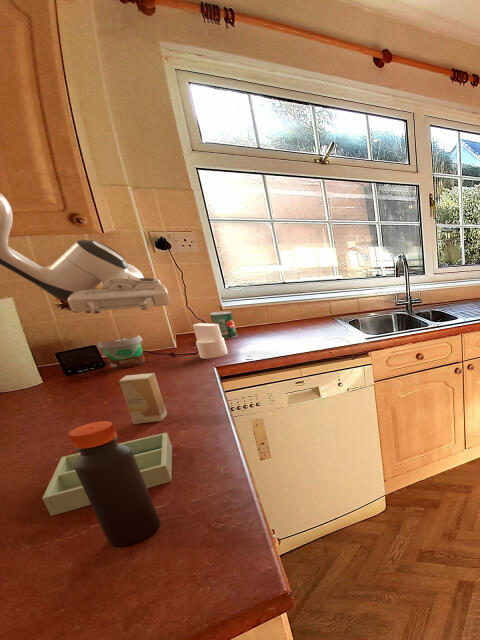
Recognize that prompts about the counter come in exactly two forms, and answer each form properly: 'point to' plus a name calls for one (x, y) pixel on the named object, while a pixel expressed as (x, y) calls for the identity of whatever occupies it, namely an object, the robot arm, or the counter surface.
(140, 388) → the cosmetic box
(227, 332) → the canned tomato
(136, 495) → the bottle
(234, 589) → the counter surface
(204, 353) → the base with upright slab
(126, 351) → the food container
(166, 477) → the grid
